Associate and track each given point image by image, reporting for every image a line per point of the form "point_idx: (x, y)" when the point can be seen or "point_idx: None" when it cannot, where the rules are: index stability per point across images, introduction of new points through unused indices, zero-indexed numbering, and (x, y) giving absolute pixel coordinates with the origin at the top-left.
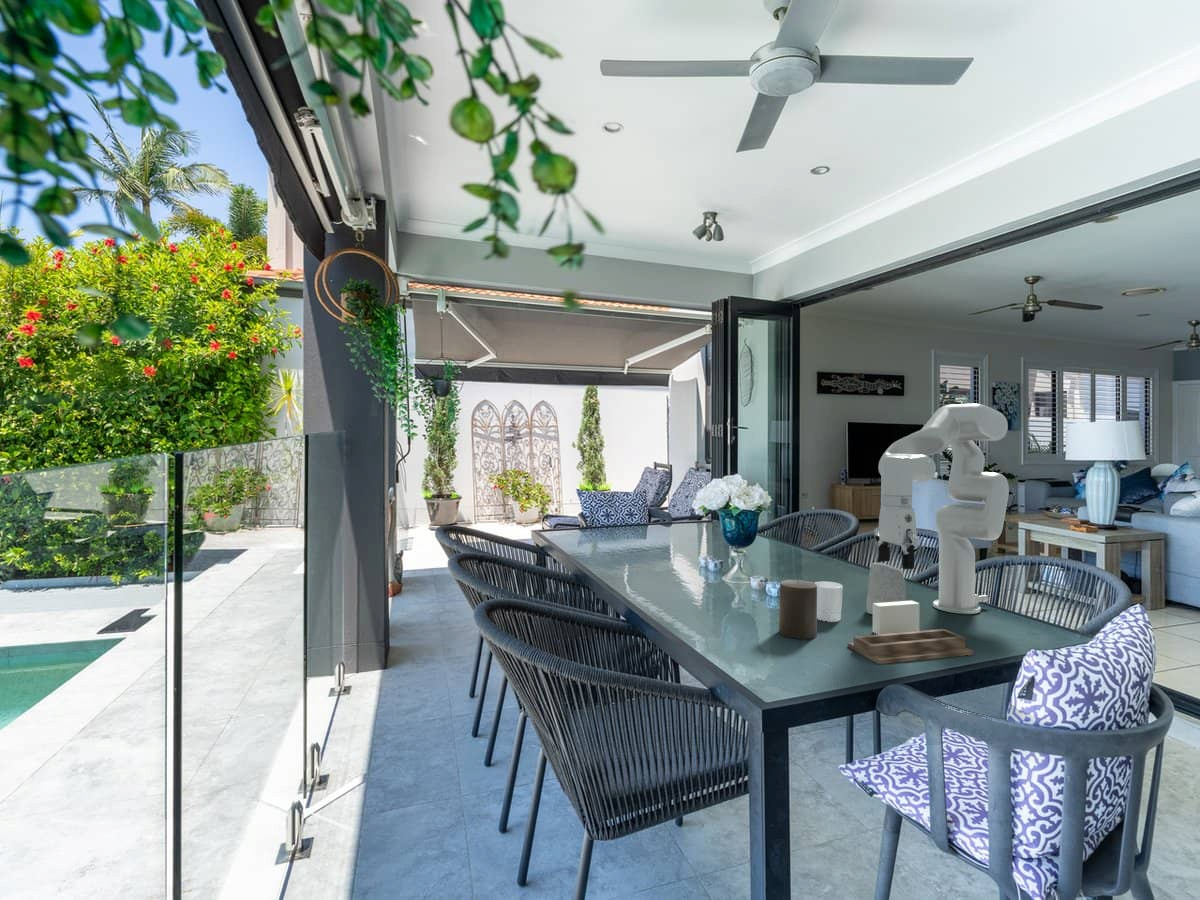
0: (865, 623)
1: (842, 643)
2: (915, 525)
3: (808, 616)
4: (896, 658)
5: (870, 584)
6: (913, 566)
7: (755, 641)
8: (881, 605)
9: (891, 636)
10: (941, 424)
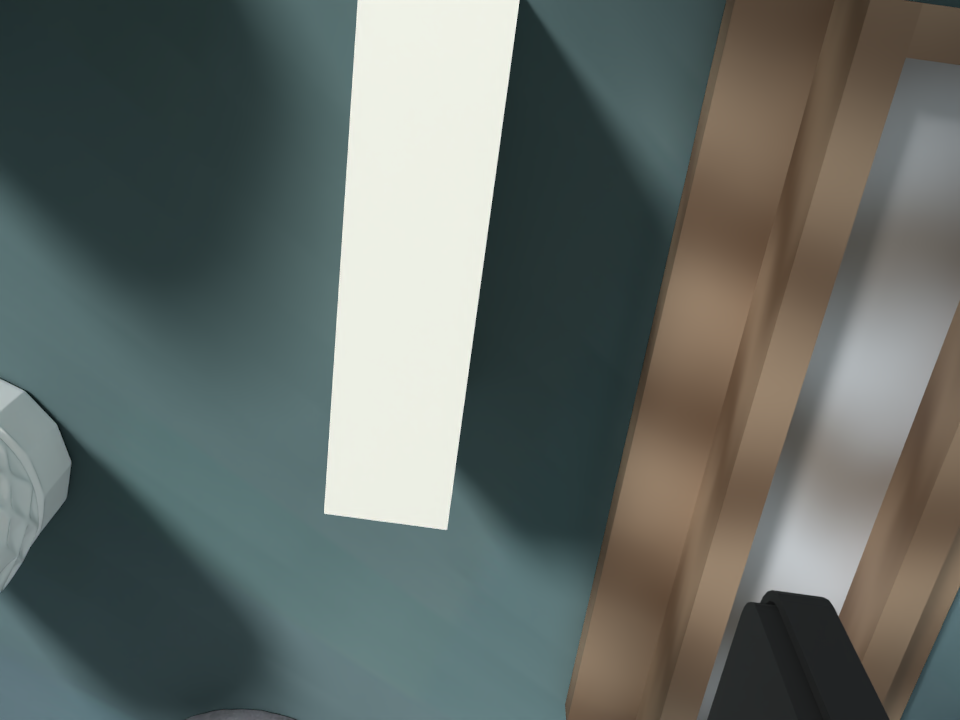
0: (152, 263)
1: (501, 692)
2: None
3: None
4: (923, 666)
5: None
6: (835, 643)
7: None
8: (423, 491)
9: (742, 565)
10: None
